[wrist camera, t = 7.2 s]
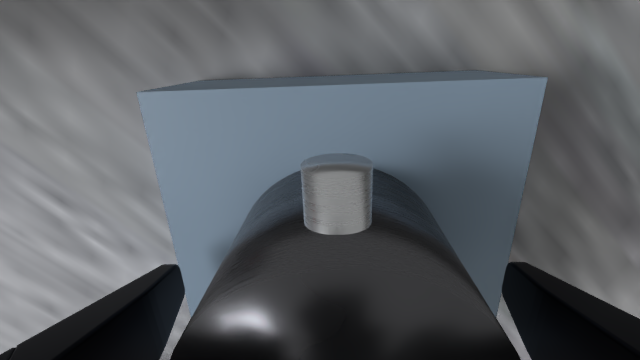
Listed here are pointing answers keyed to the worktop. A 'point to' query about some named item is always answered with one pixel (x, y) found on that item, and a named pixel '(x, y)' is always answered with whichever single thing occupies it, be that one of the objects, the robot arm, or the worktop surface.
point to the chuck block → (352, 138)
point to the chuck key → (342, 278)
